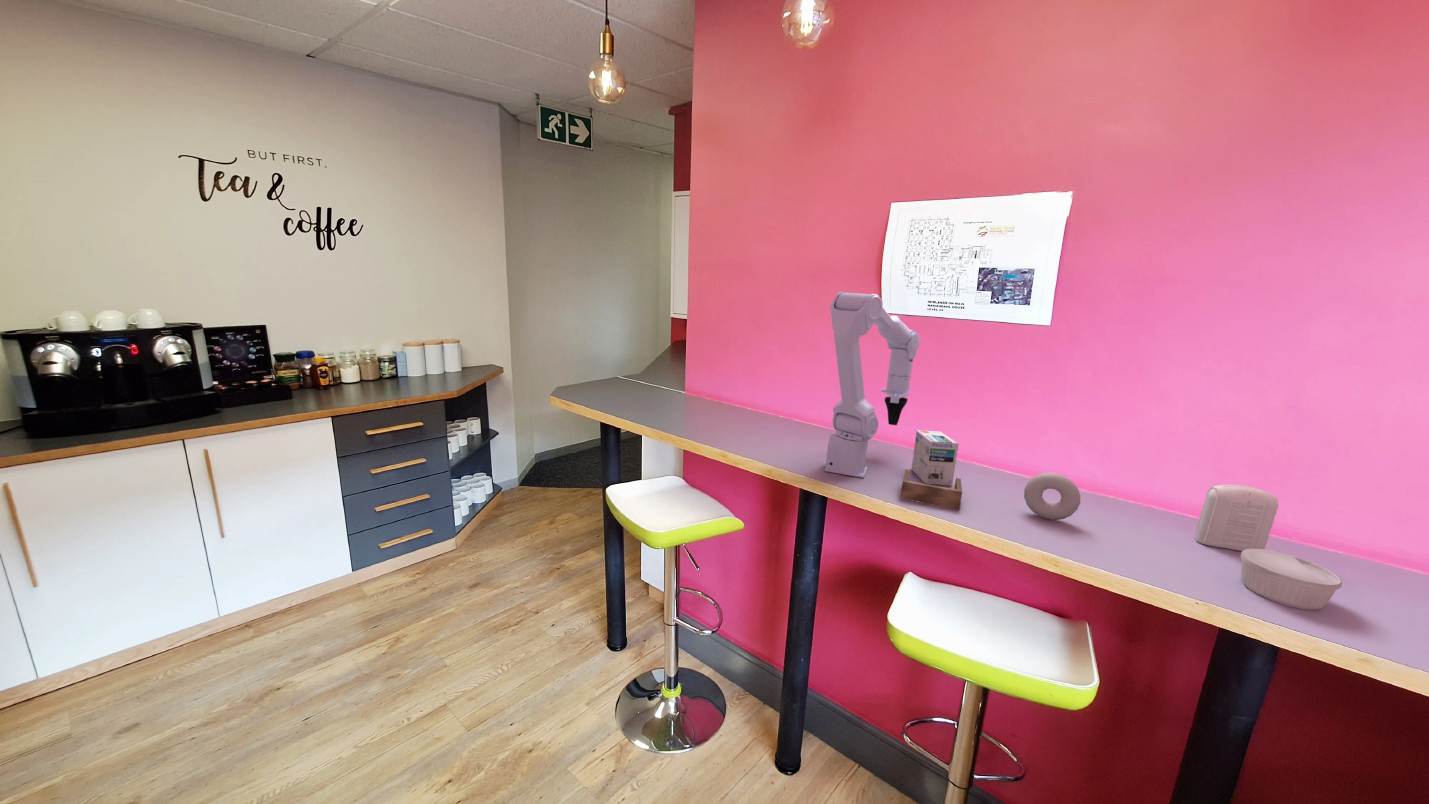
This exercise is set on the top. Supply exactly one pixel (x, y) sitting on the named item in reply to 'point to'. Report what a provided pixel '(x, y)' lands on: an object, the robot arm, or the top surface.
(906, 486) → the walnut sleeve
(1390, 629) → the top surface
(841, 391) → the robot arm
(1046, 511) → the donut
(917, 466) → the light bulb box
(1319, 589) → the ramekin
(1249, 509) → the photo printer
